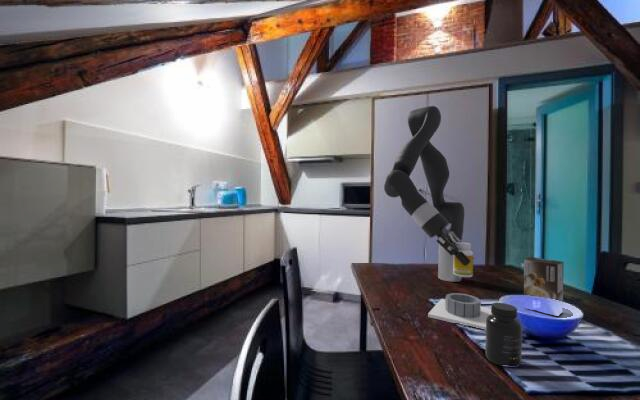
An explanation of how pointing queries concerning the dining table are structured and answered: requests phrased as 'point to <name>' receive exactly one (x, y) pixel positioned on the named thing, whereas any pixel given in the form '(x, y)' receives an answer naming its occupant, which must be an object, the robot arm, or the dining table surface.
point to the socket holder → (461, 310)
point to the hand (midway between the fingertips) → (469, 261)
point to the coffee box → (543, 278)
